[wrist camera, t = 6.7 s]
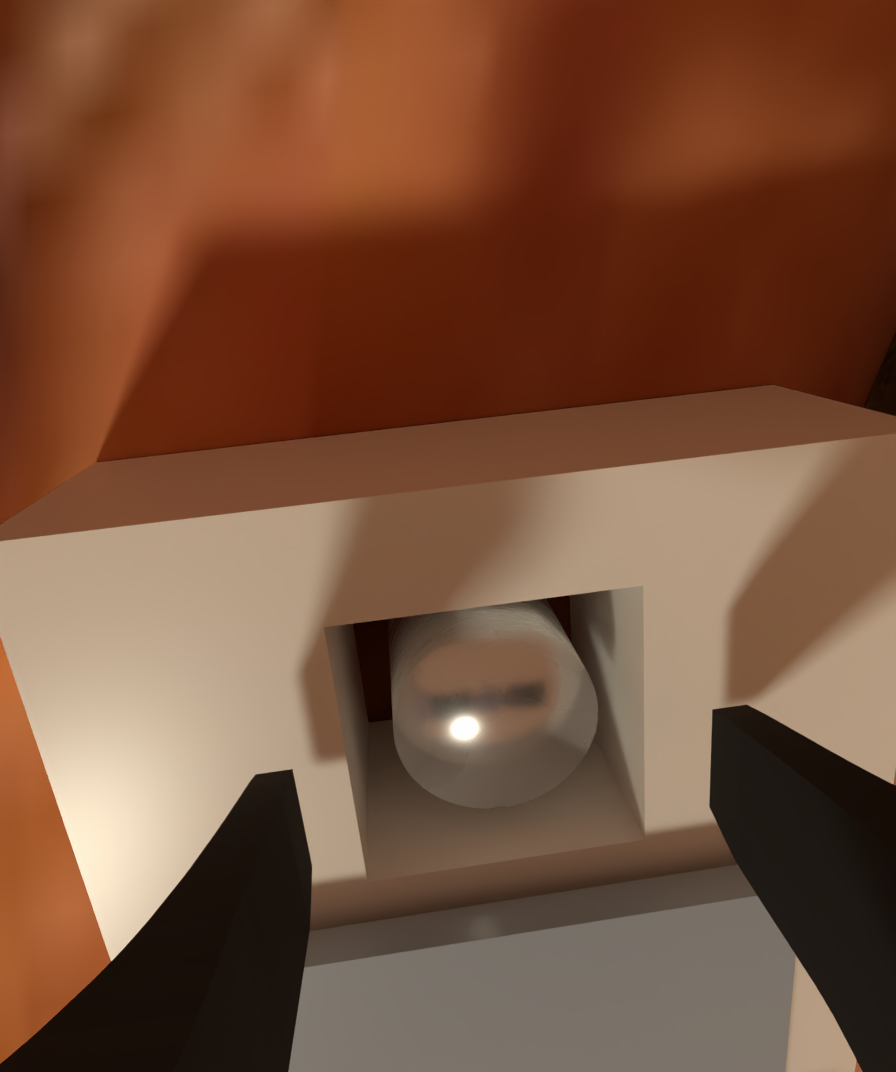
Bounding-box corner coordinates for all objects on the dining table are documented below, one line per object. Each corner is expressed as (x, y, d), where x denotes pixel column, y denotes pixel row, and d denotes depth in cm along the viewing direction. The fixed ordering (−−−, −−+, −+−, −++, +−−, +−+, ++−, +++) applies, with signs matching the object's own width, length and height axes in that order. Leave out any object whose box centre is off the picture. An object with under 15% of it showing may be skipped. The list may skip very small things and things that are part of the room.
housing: (245, 1025, 23) (208, 1245, 17) (95, 462, 17) (-31, 544, 11) (743, 943, 24) (846, 1130, 18) (773, 384, 18) (941, 428, 12)
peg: (397, 690, 19) (406, 822, 15) (377, 551, 18) (379, 645, 13) (545, 669, 20) (601, 792, 15) (536, 530, 18) (594, 615, 13)
